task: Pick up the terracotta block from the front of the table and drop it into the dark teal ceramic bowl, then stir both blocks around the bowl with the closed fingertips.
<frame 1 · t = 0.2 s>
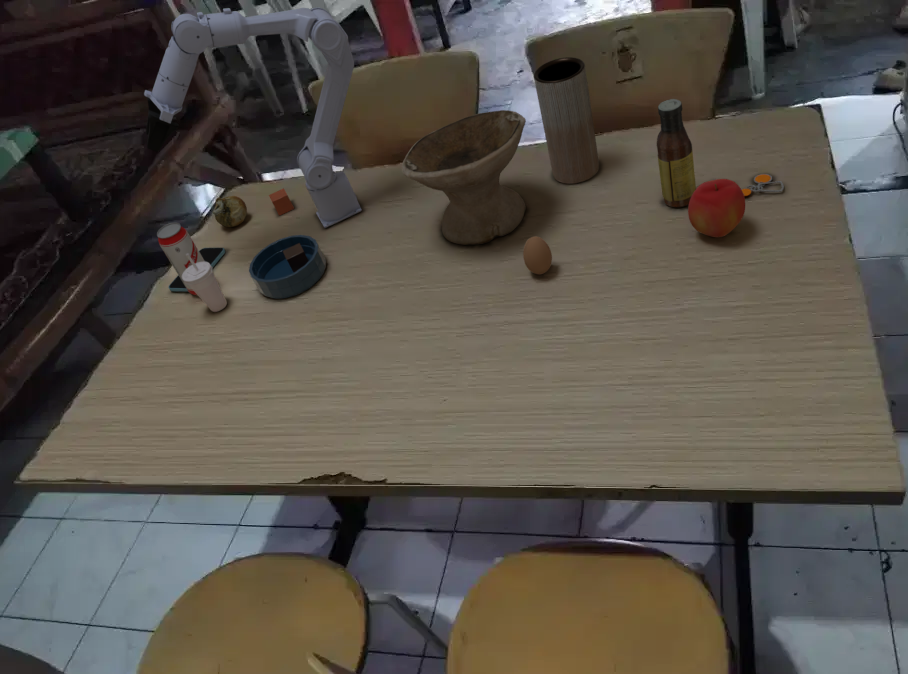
hand: (151, 142, 147), 31 cm above the table, tool tilted 45°, fingers open, 7 cm apart
key chain: (746, 188, 139), on the table
teal bowl: (293, 275, 158), on the table
apple: (716, 232, 133), on the table
sauce bottle: (678, 200, 142), on the table
egg: (541, 272, 137), on the table
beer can: (204, 288, 163), on the table, touching smartphone
bowl: (484, 219, 154), on the table
planter: (576, 171, 158), on the table
smartphone: (199, 271, 169), on the table, touching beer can
walnut block: (300, 265, 159), point 1 cm above the table, touching teal bowl
onion: (237, 223, 180), on the table
terracotta block: (285, 208, 179), on the table
smoothie: (219, 306, 157), on the table
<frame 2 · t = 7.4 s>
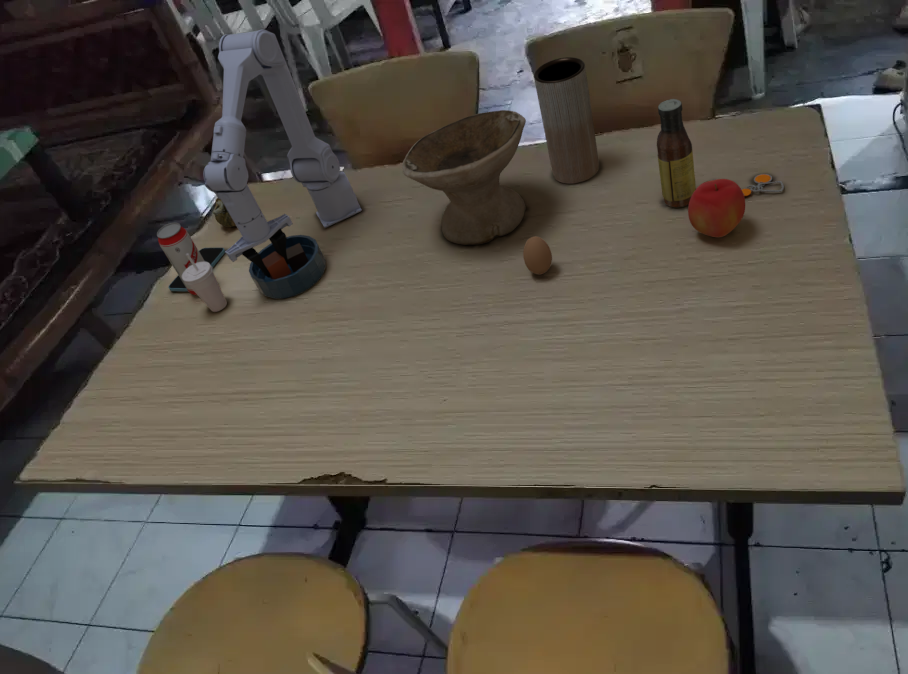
hand: (276, 269, 154), 4 cm above the table, tool pointing down, fingers closed on terracotta block, 4 cm apart
walnut block: (300, 265, 159), point 1 cm above the table, touching gripper, teal bowl
terracotta block: (279, 274, 155), point 3 cm above the table, touching gripper
everything else where it was.
when the fingers open (2 cm above the table, at t = 8.7 s): terracotta block stays where it is, resting on teal bowl.
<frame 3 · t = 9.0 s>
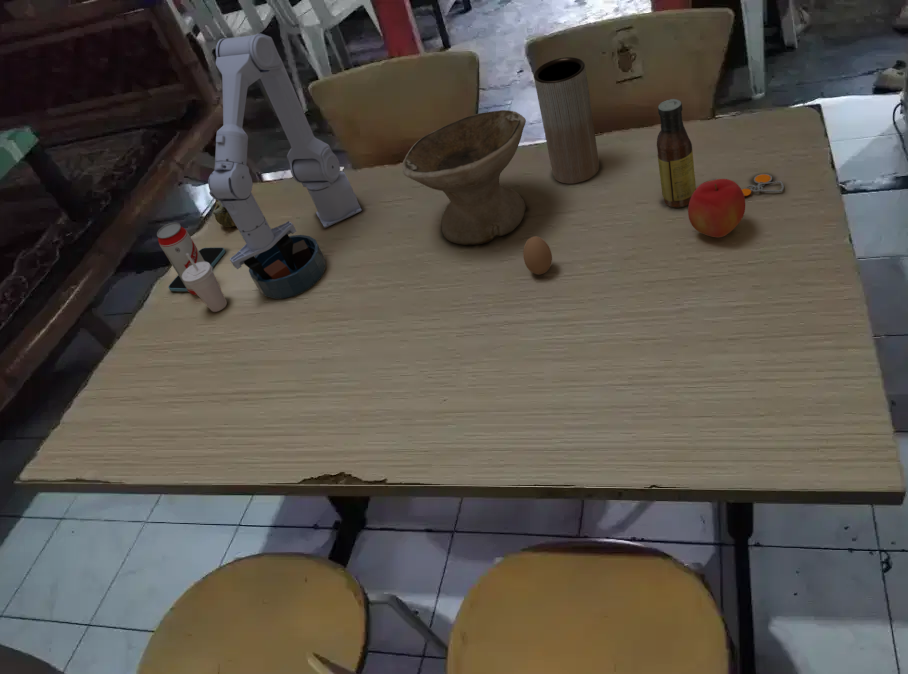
hand: (280, 275, 155), 2 cm above the table, tool pointing down, fingers open, 5 cm apart
walnut block: (304, 262, 159), point 1 cm above the table, touching gripper, teal bowl
terracotta block: (282, 282, 156), point 1 cm above the table, touching teal bowl
everything else where it was.
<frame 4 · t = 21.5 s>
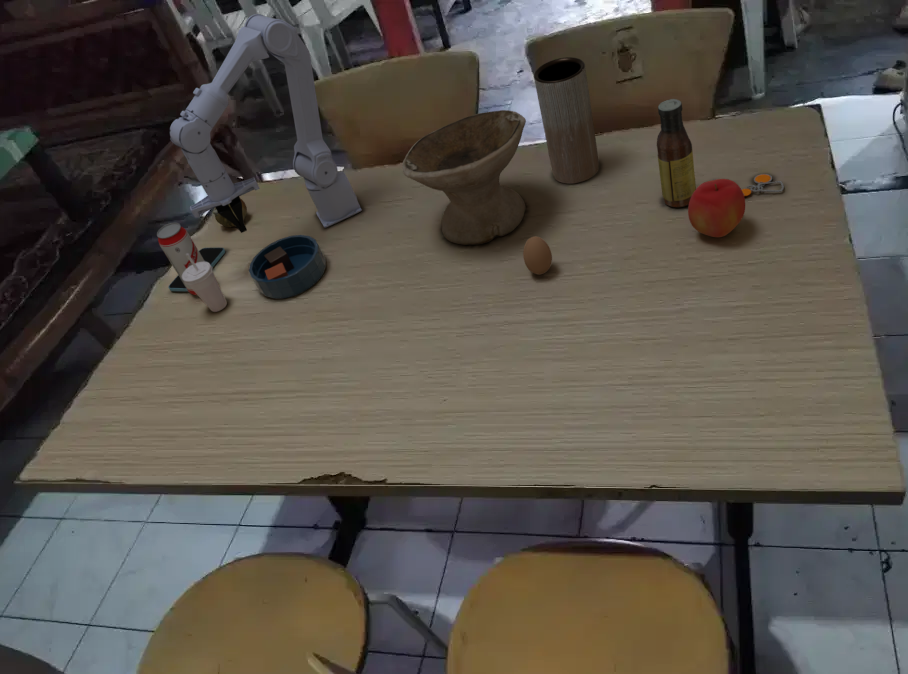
hand: (243, 229, 158), 9 cm above the table, tool pointing down, fingers closed
walnut block: (283, 268, 160), point 1 cm above the table, touching teal bowl
terracotta block: (283, 285, 155), point 1 cm above the table, touching teal bowl
everything else where it was.
at the end: terracotta block inside the target area in the teal bowl (3.9 cm from its centre), point 0.6 cm above the teal bowl's base; walnut block inside the target area in the teal bowl (3.6 cm from its centre), point 0.6 cm above the teal bowl's base; walnut block moved 4.2 cm from its start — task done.
